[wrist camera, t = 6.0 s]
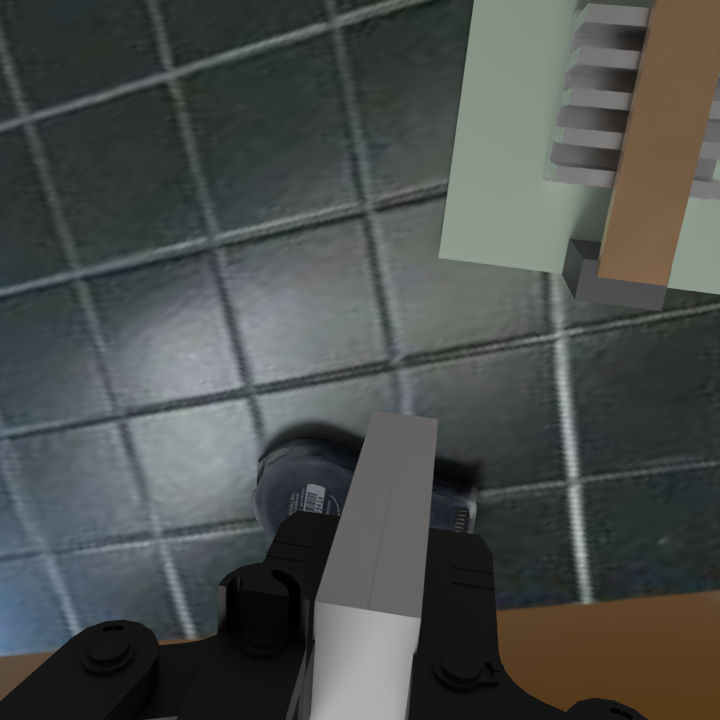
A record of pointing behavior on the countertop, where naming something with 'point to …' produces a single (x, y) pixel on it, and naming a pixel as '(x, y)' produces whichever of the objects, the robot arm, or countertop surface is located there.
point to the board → (527, 164)
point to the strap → (662, 141)
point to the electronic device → (340, 486)
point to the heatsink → (610, 102)
